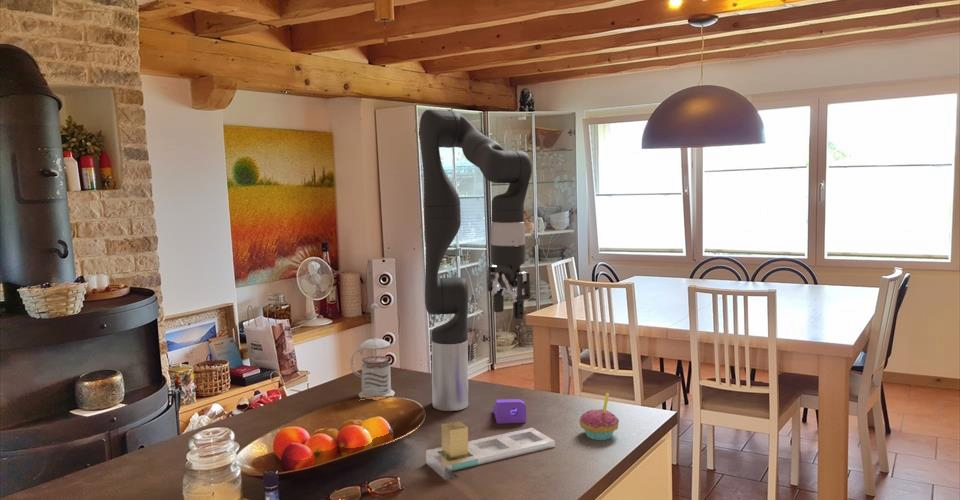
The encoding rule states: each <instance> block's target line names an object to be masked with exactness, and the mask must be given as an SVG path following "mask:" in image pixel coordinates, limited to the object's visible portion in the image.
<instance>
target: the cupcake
mask: <svg viewBox="0 0 960 500" xmlns="http://www.w3.org/2000/svg"><path fill="white" fill-rule="evenodd" d="M609 393H610V390H607V392H606V393H605V396H604V402H603V407H602V408H599V409H591V410H587V411H585V412H583V414H582V415H581V416H580V418H579V425H580V428H581V429H582V430H584V432H585V435H586V436H587V437H588V438H589V439H592V440H595V441H604V440H605V441H606V440H609V439H611V438H612V437H613V435H614V434H613V433H614V431H616V430H618V428H619V421H620V419H619V418H618V417H617V416H616V414H614V413H612V412H611V411H609V410H607V407H608V402H609V401H608V400H609V395H610V394H609Z"/></svg>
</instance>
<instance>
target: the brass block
mask: <svg viewBox="0 0 960 500" xmlns="http://www.w3.org/2000/svg"><path fill="white" fill-rule="evenodd" d="M440 426H441V429H440V430H441V447H442V456H443V457H444V458H445V459H446V460H447V461H453V460H457V459H462V458H466V457H468V441H469V427H468V426H467V425H466V424H464V423H463V422H461V421H459V420H457V421H452V422H447V423H442V424H440Z"/></svg>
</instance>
